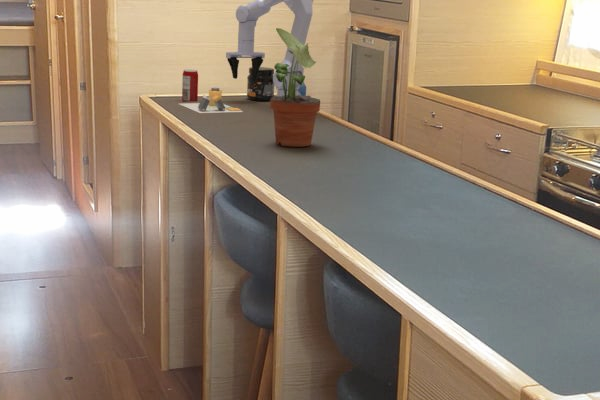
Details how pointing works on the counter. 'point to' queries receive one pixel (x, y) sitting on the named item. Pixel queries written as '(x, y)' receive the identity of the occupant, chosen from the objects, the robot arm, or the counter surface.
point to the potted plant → (294, 99)
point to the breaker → (204, 103)
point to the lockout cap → (212, 93)
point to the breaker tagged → (218, 103)
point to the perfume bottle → (302, 89)
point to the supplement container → (261, 85)
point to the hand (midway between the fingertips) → (244, 78)
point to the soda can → (190, 86)
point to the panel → (210, 108)
